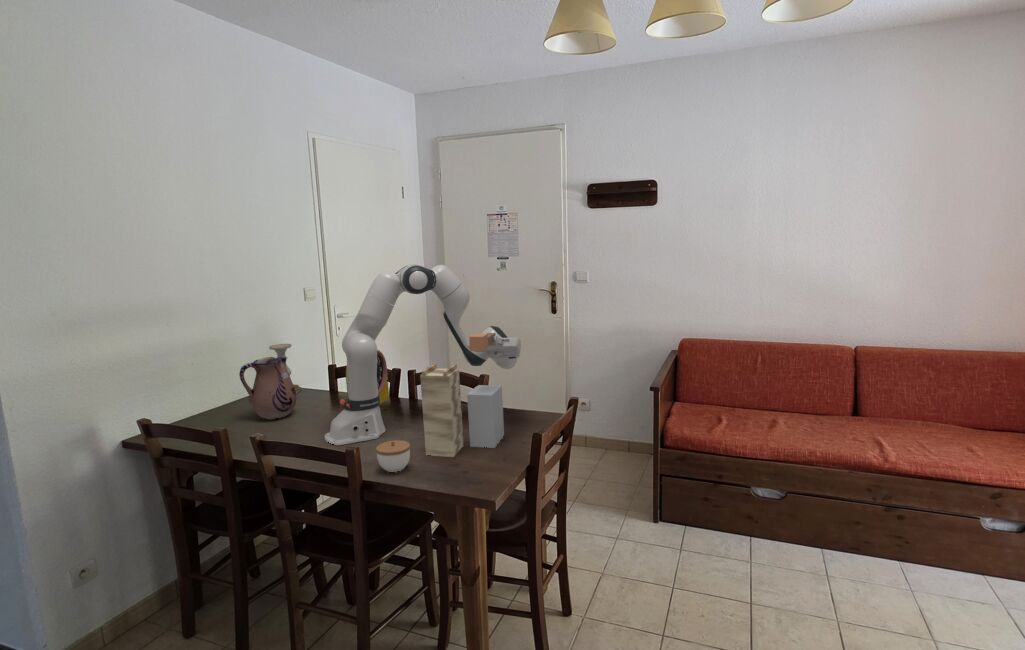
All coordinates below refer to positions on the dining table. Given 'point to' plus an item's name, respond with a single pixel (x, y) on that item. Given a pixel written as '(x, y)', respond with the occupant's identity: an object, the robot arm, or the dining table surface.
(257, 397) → the ceramic pitcher
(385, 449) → the lidded jar
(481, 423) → the pedestal
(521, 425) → the dining table surface
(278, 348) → the candle holder
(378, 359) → the alarm clock
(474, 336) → the orange brown rectangular bar
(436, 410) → the beige wooden block tower
